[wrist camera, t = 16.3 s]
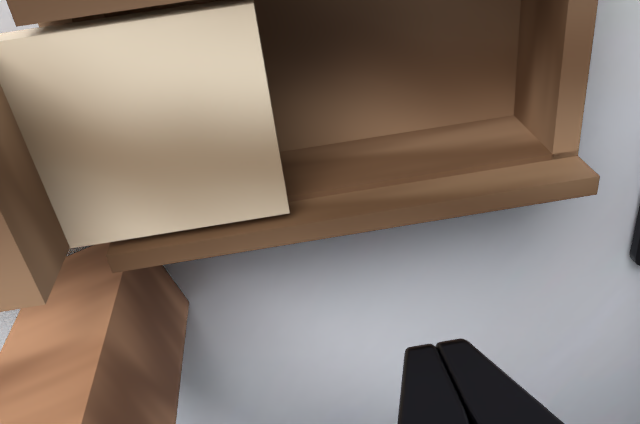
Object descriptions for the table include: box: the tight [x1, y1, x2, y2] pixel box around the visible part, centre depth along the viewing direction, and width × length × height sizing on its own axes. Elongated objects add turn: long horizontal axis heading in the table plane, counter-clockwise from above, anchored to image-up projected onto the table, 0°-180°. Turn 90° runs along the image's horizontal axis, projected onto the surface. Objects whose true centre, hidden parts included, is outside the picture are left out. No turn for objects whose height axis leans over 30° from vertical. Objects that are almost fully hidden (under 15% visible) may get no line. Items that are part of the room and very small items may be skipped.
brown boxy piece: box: [6, 0, 600, 273], centre depth 17 cm, size 8×14×5 cm, turn 97°
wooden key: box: [0, 242, 189, 424], centre depth 18 cm, size 5×5×12 cm
